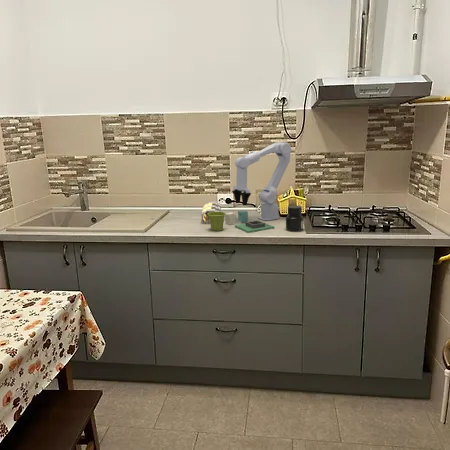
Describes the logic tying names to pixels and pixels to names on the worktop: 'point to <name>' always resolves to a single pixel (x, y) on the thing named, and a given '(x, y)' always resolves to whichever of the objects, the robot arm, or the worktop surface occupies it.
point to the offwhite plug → (230, 218)
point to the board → (254, 226)
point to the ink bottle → (294, 219)
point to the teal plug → (243, 216)
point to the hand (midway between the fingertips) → (241, 204)
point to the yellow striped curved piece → (210, 209)
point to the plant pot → (216, 220)
